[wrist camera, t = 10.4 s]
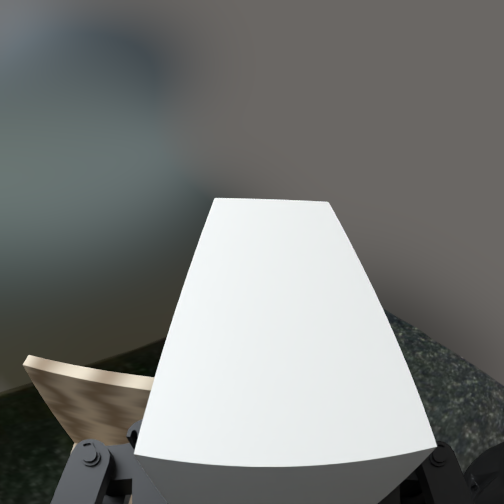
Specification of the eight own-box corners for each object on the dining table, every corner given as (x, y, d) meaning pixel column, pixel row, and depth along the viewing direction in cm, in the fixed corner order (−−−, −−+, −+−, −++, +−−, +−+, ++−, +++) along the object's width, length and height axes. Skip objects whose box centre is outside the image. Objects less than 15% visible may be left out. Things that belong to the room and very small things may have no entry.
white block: (284, 450, 18) (328, 201, 10) (287, 564, 11) (437, 446, 3) (228, 449, 18) (214, 198, 10) (220, 564, 11) (133, 453, 3)
